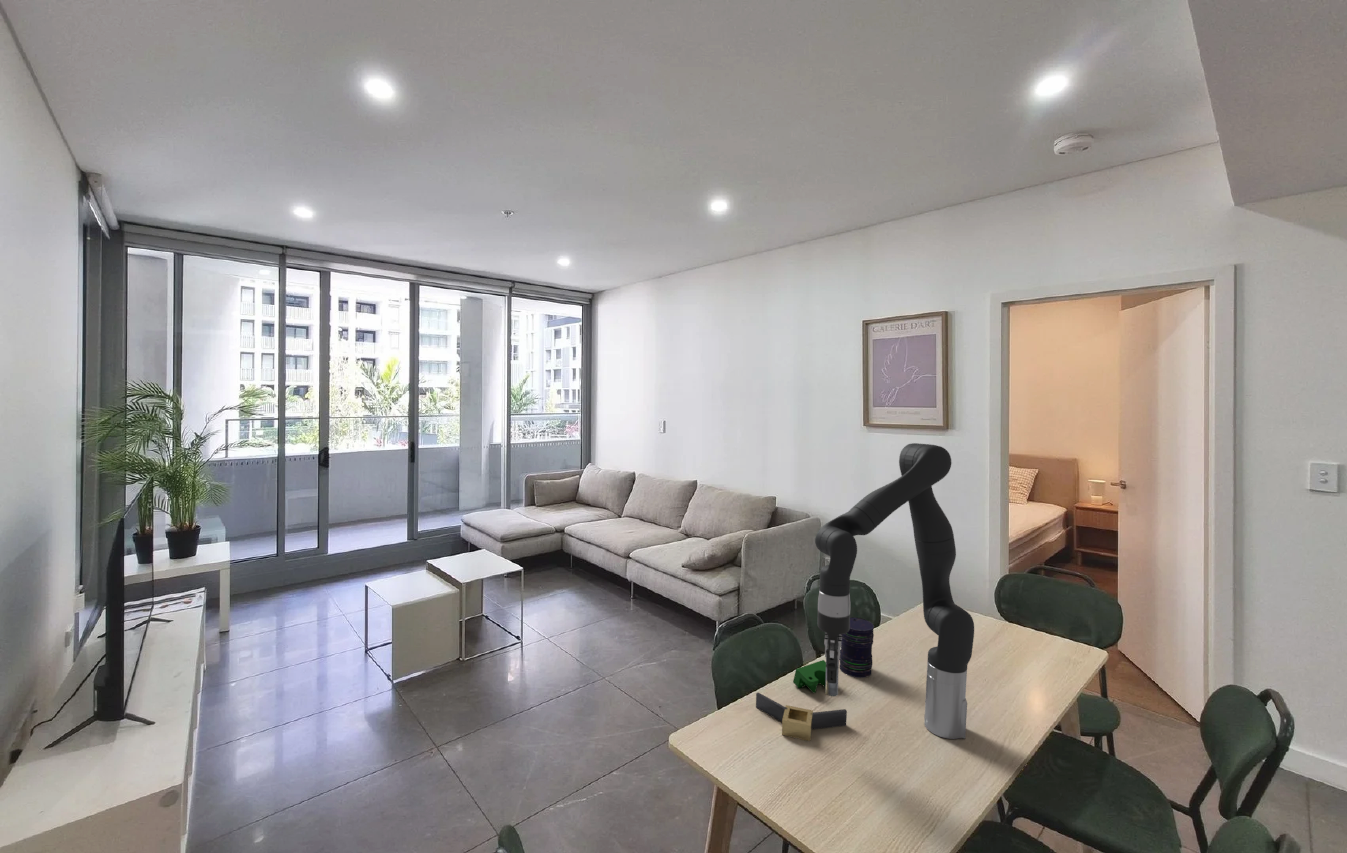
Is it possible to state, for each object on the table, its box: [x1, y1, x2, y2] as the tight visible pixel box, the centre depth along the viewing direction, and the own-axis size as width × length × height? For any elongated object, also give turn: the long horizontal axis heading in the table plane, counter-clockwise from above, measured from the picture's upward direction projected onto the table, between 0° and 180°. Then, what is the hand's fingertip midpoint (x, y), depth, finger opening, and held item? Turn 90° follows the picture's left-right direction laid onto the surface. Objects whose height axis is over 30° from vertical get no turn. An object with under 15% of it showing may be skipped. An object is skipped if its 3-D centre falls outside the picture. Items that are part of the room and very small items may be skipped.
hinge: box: [755, 692, 848, 742], centre depth 143 cm, size 24×11×4 cm, turn 72°
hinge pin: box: [824, 660, 840, 697], centre depth 134 cm, size 3×3×10 cm
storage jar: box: [839, 616, 875, 679], centre depth 173 cm, size 10×10×15 cm
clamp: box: [792, 659, 826, 694], centre depth 163 cm, size 12×6×9 cm, turn 113°
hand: (832, 678), depth 134 cm, fingers closed on hinge pin, 3 cm apart
